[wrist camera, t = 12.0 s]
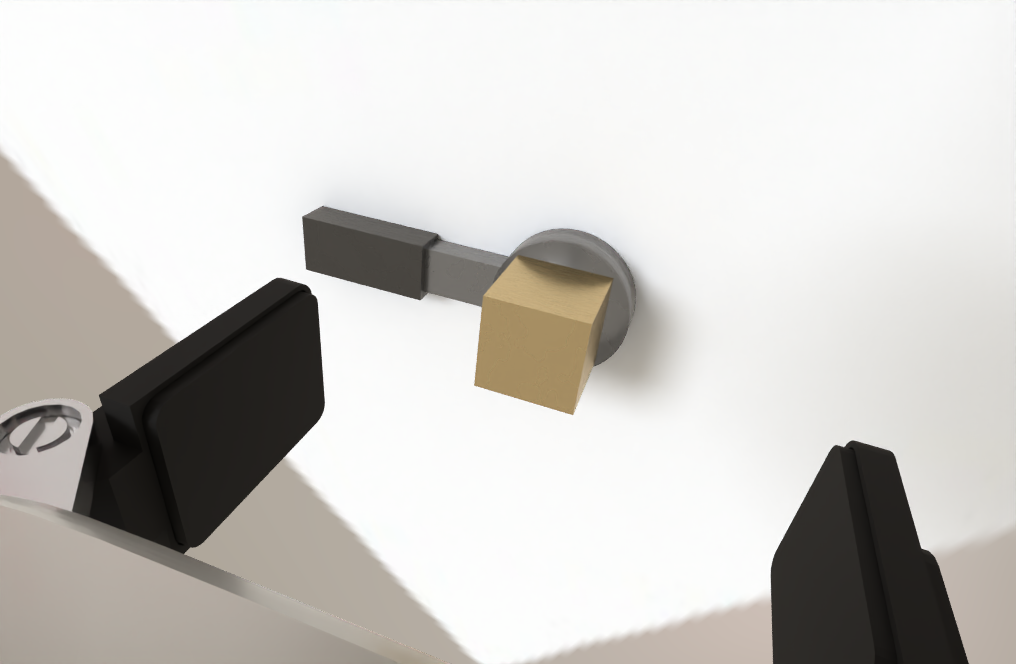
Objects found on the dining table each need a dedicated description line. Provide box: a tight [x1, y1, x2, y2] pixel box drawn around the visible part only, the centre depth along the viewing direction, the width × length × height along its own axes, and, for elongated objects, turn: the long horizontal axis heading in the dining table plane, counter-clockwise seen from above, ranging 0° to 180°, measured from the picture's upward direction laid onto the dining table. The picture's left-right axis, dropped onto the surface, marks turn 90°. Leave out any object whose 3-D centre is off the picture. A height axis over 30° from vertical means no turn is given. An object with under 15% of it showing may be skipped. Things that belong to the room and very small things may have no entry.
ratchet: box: [302, 206, 636, 367], centre depth 40 cm, size 9×23×6 cm, turn 84°
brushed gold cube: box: [474, 255, 614, 415], centre depth 36 cm, size 6×6×6 cm
